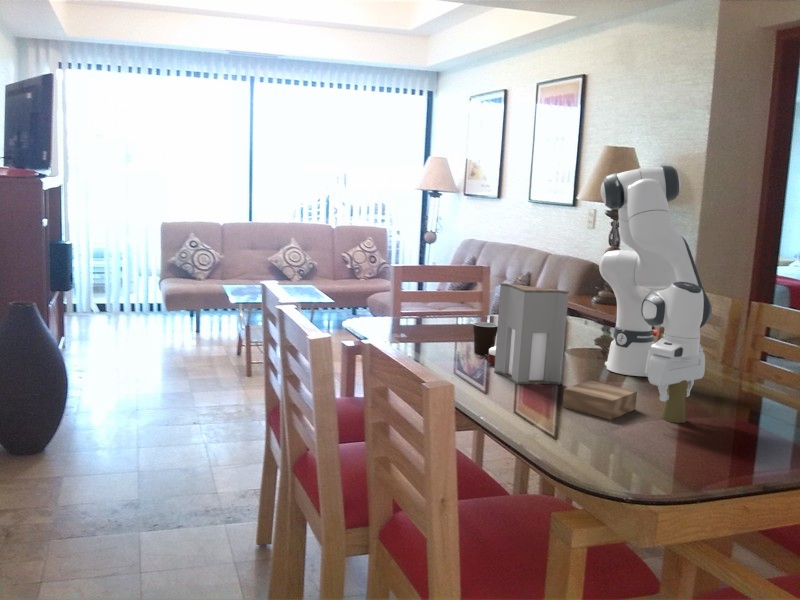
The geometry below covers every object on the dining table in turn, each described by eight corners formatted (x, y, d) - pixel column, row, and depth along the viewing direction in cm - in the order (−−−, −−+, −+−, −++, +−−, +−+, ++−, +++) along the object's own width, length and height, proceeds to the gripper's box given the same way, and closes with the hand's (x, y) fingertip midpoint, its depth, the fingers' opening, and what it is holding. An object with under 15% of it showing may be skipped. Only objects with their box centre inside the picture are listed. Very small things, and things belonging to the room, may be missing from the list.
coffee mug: (488, 357, 258) (490, 328, 256) (466, 352, 263) (468, 324, 261) (505, 351, 267) (507, 323, 265) (483, 347, 272) (485, 320, 270)
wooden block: (588, 397, 214) (589, 380, 213) (635, 409, 205) (637, 391, 204) (562, 406, 204) (564, 388, 203) (610, 419, 194) (612, 400, 194)
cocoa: (486, 367, 244) (488, 331, 242) (482, 362, 250) (483, 326, 248) (515, 367, 245) (517, 330, 243) (510, 361, 251) (512, 326, 249)
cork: (656, 418, 198) (661, 377, 196) (667, 414, 202) (672, 373, 200) (679, 424, 194) (683, 382, 192) (689, 420, 198) (694, 378, 196)
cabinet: (560, 383, 228) (568, 291, 223) (549, 390, 219) (557, 294, 215) (496, 371, 238) (502, 283, 234) (483, 377, 230) (489, 285, 225)
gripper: (692, 340, 204) (686, 390, 206) (646, 347, 191) (640, 400, 193) (714, 345, 199) (707, 396, 201) (668, 352, 186) (662, 406, 188)
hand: (674, 398), depth 197 cm, fingers open, 8 cm apart
